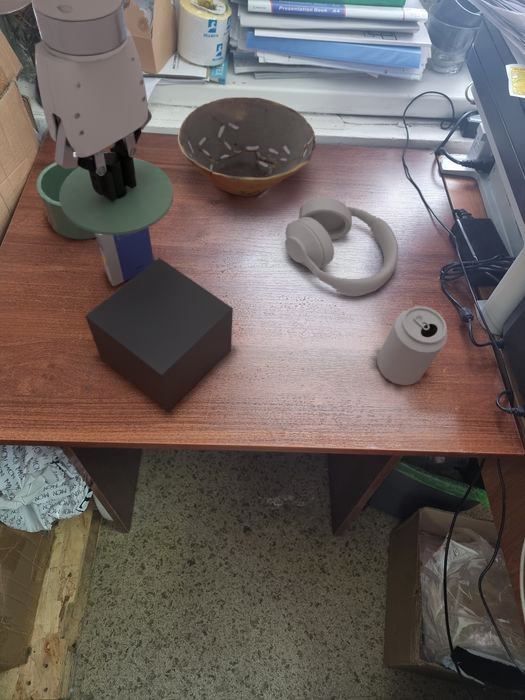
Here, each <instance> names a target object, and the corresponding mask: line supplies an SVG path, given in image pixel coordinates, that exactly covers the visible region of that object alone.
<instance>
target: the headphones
mask: <svg viewBox="0 0 525 700" xmlns="http://www.w3.org/2000/svg"><path fill="white" fill-rule="evenodd" d="M353 217H354V218H357V219H358V220H360V221H361V222H363V223H364V224H365V225H367V227H369V230H370V232H371V234H372V235H373V236H374V238H375V240H376V242H377V243H378V245H379V247H380V249H381V251H382V255H383V264H382V266H381V269H380V270H379V271H377V272H376V273H375V274H373V275H371V276H369V277H362V278H347V277H346V278H345V277H342V278H341V277H338V276H334V275H333V274H329V273H328V272H326V271H323V270H321V269H322V268H324V267H326V266H328V265H329V264H330V263H331V262H332V261H333V260H334V255H335V248H334V247H335V246H334V244H333V240H337V239H342V238H343V237H344V236H347V235H348V233H349V232H350V231H351V229H352V225H353ZM284 244H285V249H286V252H287V253H288V255H289V257H291V259H292V260H293V261H295V262H296V263H299V264H301V265H302V266H304V267H306V268H308V269H309V271H310V272H311V273H312V274H313V275H314V276H315V277H316V278H318V280H319V281H321V282H323V283H324V284H326V285H328V286H330V287H332V288H333V289H334V290H336V291H335V292H337V293H339V294H340V295H343V296H347V297H359V296H360V297H361V296H363V295H367V294H370V293H373V292H376V291H377V290H378V289H380V288H381V287H382V286H383V285H385V284H386V283H387V281H388V280H389V279H391V277H392V275H393V273H394V272H395V270H396V268H397V265H398V259H399V244H398V241H397V238H396V235H395V232H394V231H393V229H392V228H391V226H390V224H388V222H386V221H385V220H384V219H382V218H381V217H377V216H376V215H374V214H371V213H369V212H368V211H365V210H364V209H360V208H356V207H350V206H347V205H346V204H345V203H343V202H341V200H338V199H335V198H332V197H327V196H319V197H314V198H311V199H308V200H306V201H305V202H303V203H302V204H301V206H300V207H299V212H298V218H297V219H295V220H293V221H291V222H289V223H288V224H287V225H286V228H285V242H284Z"/></svg>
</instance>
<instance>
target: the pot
mask: <svg viewBox="0 0 525 700" xmlns="http://www.w3.org/2000/svg"><path fill="white" fill-rule="evenodd" d="M78 168H79V167H77V168H73V169H64V168H62V167H61V166H59V165H58V164H57V163H55V162H53V163H52V164H50V165H48V166H46V167H45V168H44V169H43V170H42V171H41V172H40V173H39V174H38V178H37V180H36V191H37V194H38V196H39V199H40V202H41V205H42V207H43V210H44V212H45V215H46V218H47V221H48V222H49V224H50V226H51V228H52V229H53V231H55V232H56V233H57V234H59V235H60V236H62V237H65V238H67V239H73V240H90V239H94V238H95V239H96V236H95V233H93V232H90V231H87V230H84V229H82V228H80V227H78V226H77V225H75V224H74V223H73V222H71V221H70V220H69V219H68V218H67V217H66V215H65V214H64V212H63V210H62V208H61V205H60V200H59V193H60V189H61V186H62V184H63V182H64V181H65V179H66V178H67V177H68V176H69V175H70V174H71V173H72V172H73V171H75V170H76V169H78Z"/></svg>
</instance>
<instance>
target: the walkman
mask: <svg viewBox="0 0 525 700" xmlns="http://www.w3.org/2000/svg"><path fill="white" fill-rule="evenodd" d="M150 233H151V232H150V227H148V228H146V229H144V230H141V231H138V232H134V233H130V234H124V235H104V234H97V233H95V236H96V237H95V239H96V243H97V246H98V248H99V251H100V254H101V258H102V261H103V265H104V269H105V274H106V276H107V277H108V281H109V282H110V284H111V285H112V287H115V286H118V285H120V284H122V283H124V282H126V281H128V280H131V279H133V278H134V277H135V276H137V275H138V274H139V273H140V272H142V271H143V270H144V269H145V268H147V267H148V266H149V265H151V264H152V263H153V262H154V261H155V260H154V253H153V247H152V240H151V235H150Z"/></svg>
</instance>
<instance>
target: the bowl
mask: <svg viewBox="0 0 525 700" xmlns="http://www.w3.org/2000/svg"><path fill="white" fill-rule="evenodd" d="M316 142H317V141H316V135H315V131H314V129H313V127H312V126H311V124H310V122H308V121H307V119H306V118H305V116H303V115H302V114H300V112H298V111H296V110H295V109H293V108H291V107H289V106H287V105H285V104H282V103H279V102H276V101H274V100H270V99H267V98H261V97H245V96H239V97H238V96H237V97H236V96H235V97H224V98H219V99H216V100H213V101H210V102H207V103H204V104H202V105H199V106H198V107H196V108H195V109H194V110H192V111H191V112H190V113H189V114H188V115H187V116H186V117H185V118H184V120H183V121H182V123H181V124H180V127H179V128H178V136H177V144H178V146H179V148H180V150H181V152H182V154H183V155H184V156H185V158H186V159H187V160H188V161H189V163H191V164H192V165H193V166H194V167H195V168H196V169H197V170H198V171H199V172H200V174H202V175H203V176H204V177H205V178H206V179H207V180H208V181H209V182H211V183H212V184H213V185H215V186H216V187H217V188H219V189H220V190H222V191H224V192H227V193H230V194H233V195H236V196H243V197H244V196H245V197H247V196H255V195H259V194H260V193H262V192H264V191H266V190H268V189H269V188H272V187H273V186H275V185H277V184H278V183H280V182H282V181H284V180H286V179H288V178H289V177H291V176H293V175H294V174H296V173H297V172H298V171H300V170H301V169H303V168H304V167H305V166H306V165H307V164H309V162H310V161H311V160H312V157H313V153H314V151H315V149H316V144H317V143H316Z"/></svg>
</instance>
